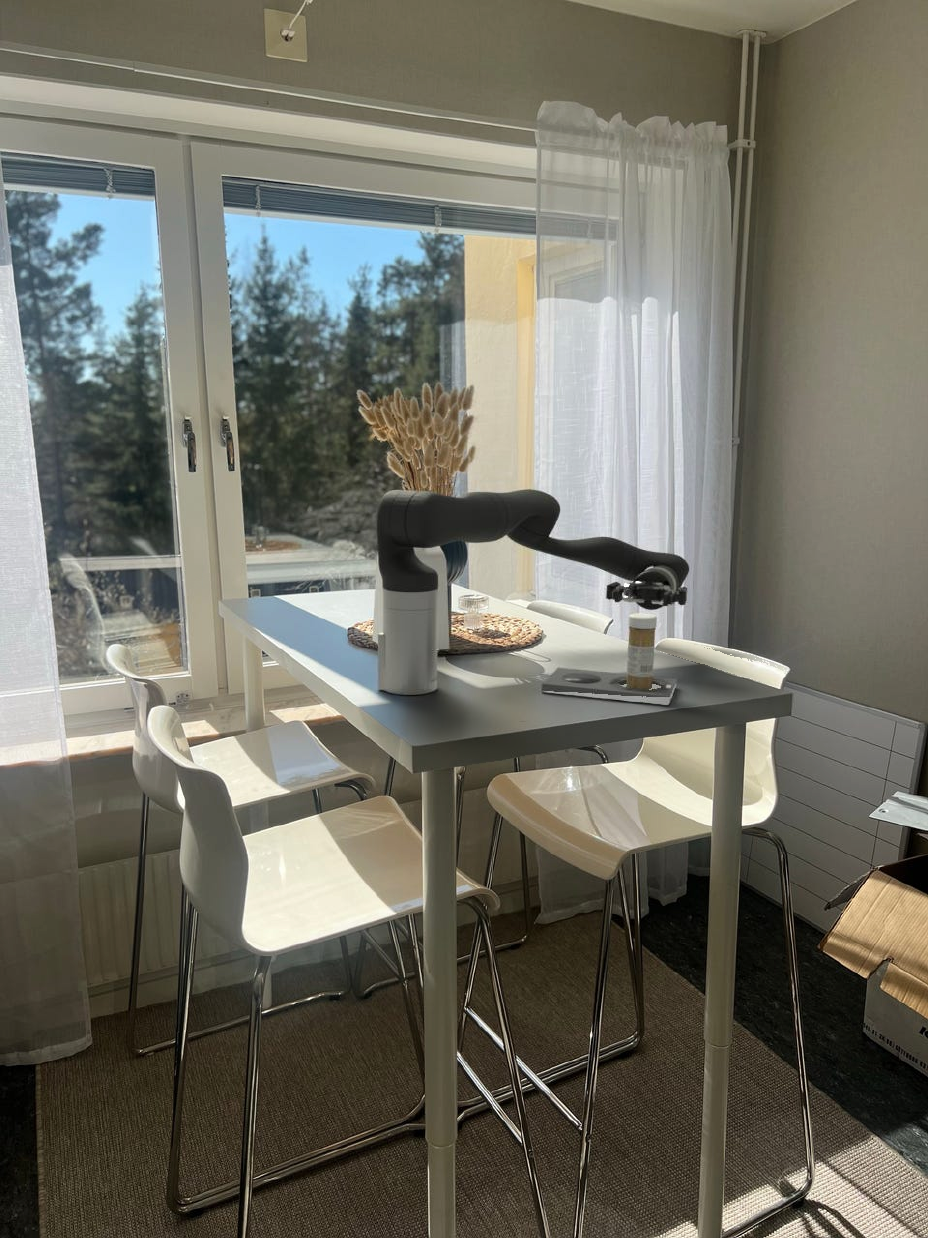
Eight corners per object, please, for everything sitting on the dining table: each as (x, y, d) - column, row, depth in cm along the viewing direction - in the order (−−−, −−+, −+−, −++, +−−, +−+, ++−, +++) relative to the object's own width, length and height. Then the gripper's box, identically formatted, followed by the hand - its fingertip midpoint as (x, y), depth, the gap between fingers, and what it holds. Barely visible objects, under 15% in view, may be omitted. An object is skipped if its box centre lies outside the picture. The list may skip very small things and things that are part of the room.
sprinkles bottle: (648, 689, 156) (653, 612, 154) (655, 696, 152) (660, 617, 149) (622, 689, 156) (626, 612, 153) (628, 696, 152) (632, 617, 149)
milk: (424, 639, 194) (425, 516, 189) (449, 650, 184) (451, 521, 179) (372, 644, 188) (371, 517, 183) (394, 655, 178) (395, 522, 173)
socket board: (541, 692, 153) (542, 682, 153) (557, 676, 164) (558, 667, 164) (668, 706, 146) (669, 695, 146) (676, 688, 158) (677, 678, 157)
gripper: (618, 565, 177) (602, 574, 162) (693, 570, 172) (683, 580, 157) (616, 603, 178) (599, 615, 163) (690, 610, 173) (680, 622, 158)
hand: (640, 598), depth 160 cm, fingers open, 8 cm apart
